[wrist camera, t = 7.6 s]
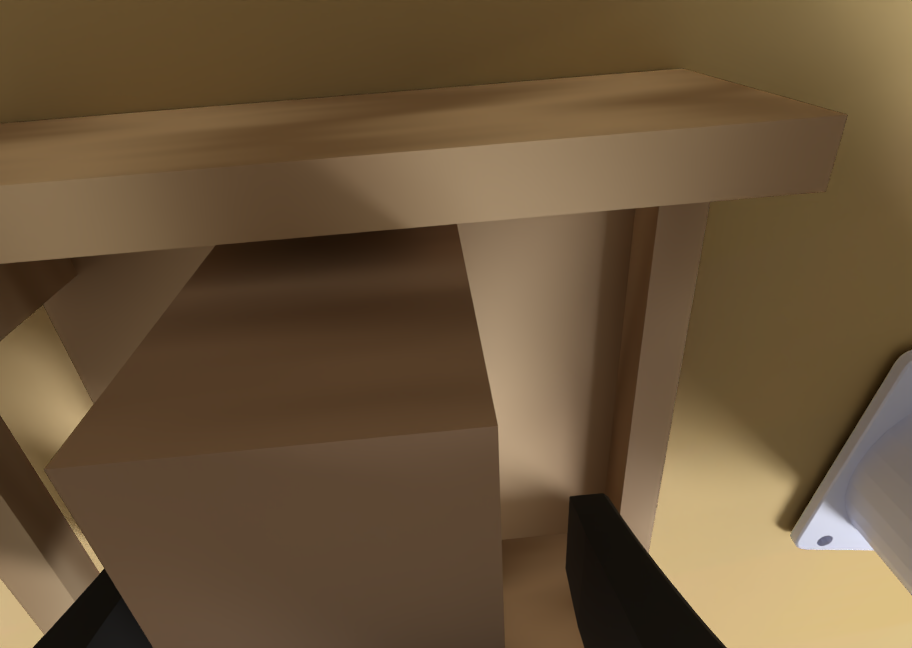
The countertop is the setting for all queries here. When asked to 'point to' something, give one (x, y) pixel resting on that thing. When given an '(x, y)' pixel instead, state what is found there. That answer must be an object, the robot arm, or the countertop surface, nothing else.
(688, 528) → the countertop surface
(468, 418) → the brown wooden block
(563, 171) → the wooden stool
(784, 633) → the countertop surface
